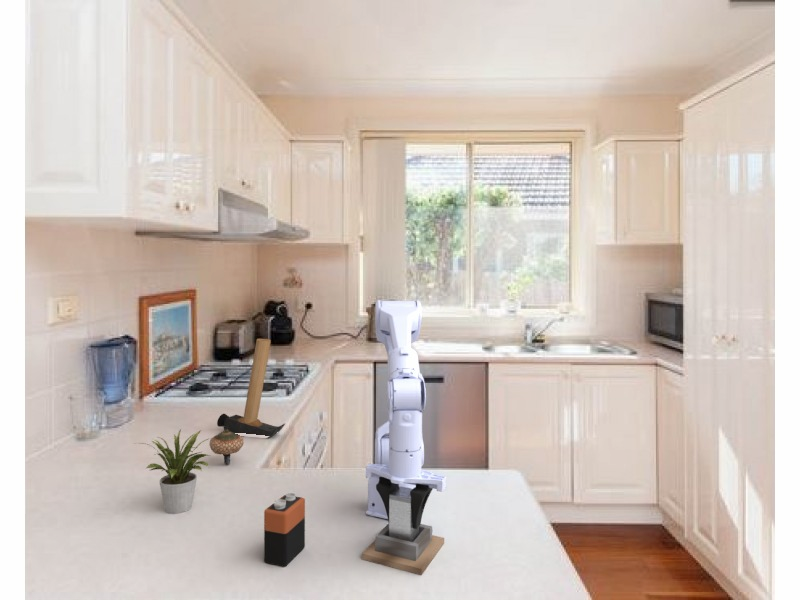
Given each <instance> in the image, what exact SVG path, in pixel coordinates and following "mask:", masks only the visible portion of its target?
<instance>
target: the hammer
mask: <svg viewBox="0 0 800 600" xmlns="http://www.w3.org/2000/svg"><path fill="white" fill-rule="evenodd" d="M270 348H271V339H269V338H257V339H256V342H255V349H254V354H253V359H252V364H251V365H252V366H251V371H250V377H249V384H248V388H247V389H248V390H247V395H246V401H245V408H244V412H243V415H239V414H235V415H230V416H229V415H228V414H226V413H221V415H219V417H218V418H217V421H216V425H217V427H218V428H219V427H220V428H221V427H222V428H223V430H224V431H225V430H226V427H228V430H229V432H233V433H246V434H256V435H265V436H270V437H269V438H271V437H272V435H273V436H274V435H275V434H278V433H279V432H280V431H281V430H283V428H284V426H285V425H286V423H282V424H281V425H279V426H276V425H273V424H268V423H265V422H263V421H261V420H260V419H258V417H259V411H260V406H261V401H262V395H263V394H262V393H263V388H264V381H265V377H266V371H267V365H268V359H269V352H270ZM277 432H278V433H277Z"/></svg>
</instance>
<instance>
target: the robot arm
mask: <svg viewBox="0 0 800 600" xmlns="http://www.w3.org/2000/svg"><path fill="white" fill-rule="evenodd" d="M374 310H375V311H374V315H375V316H374V318H375V319H374V321H375V322H374V324H375V325H374V326H375V336H376V341H377V342H379V343H381V344H384V347H385V352H386V355H387V382H386V383H387V384H386V406H387V415H388V417H387V420H386V421H385V422H384V423H383V424H381V425H380V426H378V428H377V429H376V431H375V439H374V463H370V464H368V465H367V466H366V467H365V478H367V479H368V481H367V482H368V483H367V510H366V512H365V514H366V515H367V516H370V517H375V518H376V517H377V518H381V519H385V520H387V521H388V523H389V495H390V494H391V493H392V492H393V491H394V490H395V489H396V488H397V487H399V486H401V487H406V488H411V489H412V490H411V491H410V496H411V501H412V510H413V513H412V526H413V528H414V529H417V528H418V527H419V525H420V524H422V518H423V514H424V511H425V510H424V509H425V507H426V505H427V503H428V502H427V501H428V499H429V497H430V494H431V493H432V491H433V490H436V492H441V493H442V492H444V491H445V489H446V488H447V476H444V475H440V474H437V473H434V472H431V471H428V470H425V469H422V467H423V465H424V462H425V446H424V440H423V412H424V411H425V409H426V408H425V407H426V403H427V390H426V383H425V378H424V377H423V374H422V373H421V371H420V370H421V369H420V361H419V357H418V353H417V351H416V350H415V349H413V348H412V344H414V343H416V342H417V341H418V338H419V337H420V332H421V326H422V319H423V318H422V317H423V315H422V314H423V310H422V303H421V302H420V300H419V299H415V300H381V299H377V301H376V302H375V308H374Z"/></svg>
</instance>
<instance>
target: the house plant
mask: <svg viewBox="0 0 800 600" xmlns="http://www.w3.org/2000/svg"><path fill="white" fill-rule="evenodd" d="M181 430H182V428H180V429H179V430H178V433H177V436H176V434H173V438H174V443H173V444H174V448H175V449H174V451H175V452H173V451H172V450H171V449H170V448H169V445H168V443H167V441H166V440H165V439H164V438H163V437H162V438H161V437H159V436H157V438H159V439H161V440H162V441H163V442H164V444H165V446H166V447H164V446H163V444H162V443H160V441H159V440H157V439H154V438H152V440H151V442H152V444H154V445H156V447H157V448H158V450H159V451H160V452H161V453H160V452H157V453H155V454H154V456H155V455H158V456H159V457H160V458H161V460H163V462H164V465H165V467H166V469H165V467H163V466H162V465H160V464H158V463H154V462H153V463H149V464H148V465H147V466H146V467H145V469H149V470H148V471H155V470H161V472H163V471H164V472H166V474H167V475H164V476H162V477H161V478H160V479H159V485H160V486H159V487H160V490H161V497H162V502H163V506H164V507H163V508H164V511H165V513H166V514H173V515H174V514H181V513H185V512H187V511H190V509H192V507H193V502H194V498H195V497H194V496H195V491H196V490H195V489H196V486H197V478H198V475H197V474H196V473H195V472H191V471H192V470H200V472H203V471H202V467H201V466H200V465H203V466H206V467H207V468H208V469H210V468H209V466H210V465H209V464H208V462H206V461H204V460H202V461H199V459H201V458H204V457H210V456H211V455H210V454H206V453H202V451H201V452H200V451H198V452H194V451H195V449H198V447H199V446H200V445H201V444H203V443H204V442H205V441H209V440H211V438H212V437H211V438H207V439H204V440H202V441H201V442H200V443H198V444H197V445H196V446H195V447H193V446H194V445H195V443H196V441H197V437H198V436H199V434H201V430H199V431H197V432H195V433H193V434H192V435H190V436H189V437H188V438H187V439H186V440H185V442H184V443H183V444H182V446H181V445H180V436H181V432H182V431H181ZM186 443H187V444H186ZM133 444H136V442H135V443H133ZM140 444H143V445H148V446H150V444H148V443H145V442H139V445H140ZM152 448H154V449H155V447H153V446H152ZM192 449H193V450H192ZM190 452H191V453H190ZM193 452H194V453H193Z"/></svg>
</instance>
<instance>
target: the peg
mask: <svg viewBox="0 0 800 600" xmlns="http://www.w3.org/2000/svg"><path fill="white" fill-rule="evenodd" d="M411 490H412V489H411V488H406V487H401V486H399V487H397V488H396V489H395V490H394V491H393V492H392V493H391V494H390V495H389V522H388V523H389V537H393V538H397V539H401V540H405V541H409V542H413V541H414V540H415V539H416V538H417V536H418V535H419V527H418V528H417V529H414V528H413V526H412V513H413V510H412V501H411V496H410V491H411Z"/></svg>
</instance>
